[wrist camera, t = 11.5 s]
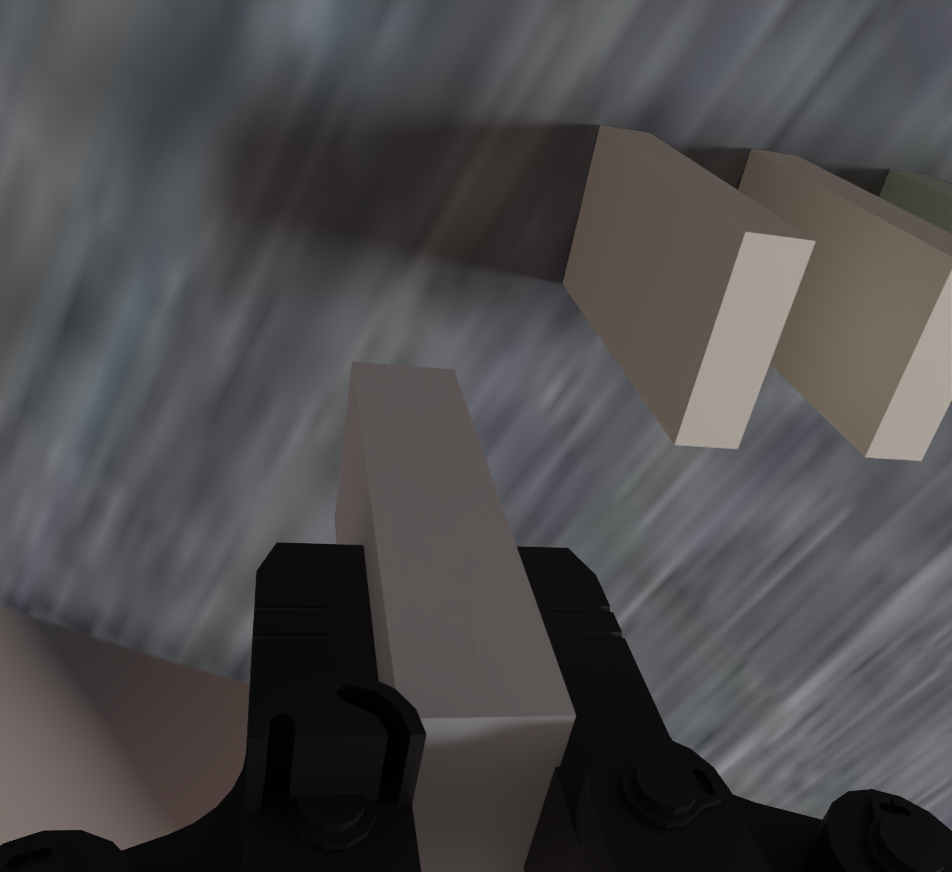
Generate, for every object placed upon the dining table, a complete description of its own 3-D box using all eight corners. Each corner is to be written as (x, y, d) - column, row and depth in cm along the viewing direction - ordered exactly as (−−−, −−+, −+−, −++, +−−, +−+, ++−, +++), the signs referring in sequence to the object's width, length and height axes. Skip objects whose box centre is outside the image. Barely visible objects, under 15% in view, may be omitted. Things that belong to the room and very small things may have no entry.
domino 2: (702, 299, 29) (864, 457, 21) (751, 148, 27) (956, 259, 19) (745, 303, 30) (921, 460, 21) (796, 155, 27) (1017, 267, 19)
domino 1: (562, 284, 28) (674, 444, 20) (599, 124, 26) (745, 232, 17) (608, 288, 29) (737, 448, 20) (649, 132, 26) (815, 240, 18)
